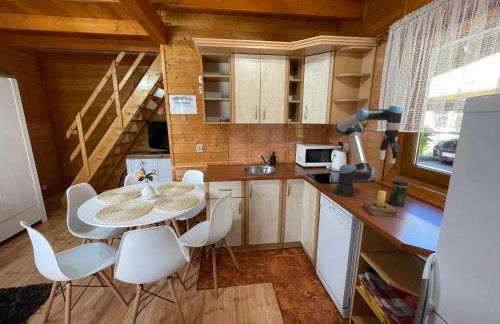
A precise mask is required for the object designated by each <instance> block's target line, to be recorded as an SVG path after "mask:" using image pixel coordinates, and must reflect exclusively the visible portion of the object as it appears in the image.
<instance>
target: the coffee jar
mask: <svg viewBox="0 0 500 324" xmlns="http://www.w3.org/2000/svg"><path fill="white" fill-rule="evenodd" d="M391 185H392V187H391V193H390V196H389V203H390V204H392V205H393V206H397V207H404V206H405V201H406V196H407V195H406V194H407V189H408V186H409V182H408V181H405V180H404V179H402V178H394V179H393V180H392V183H391Z"/></svg>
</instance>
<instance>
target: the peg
mask: <svg viewBox="0 0 500 324" xmlns="http://www.w3.org/2000/svg"><path fill="white" fill-rule="evenodd" d="M386 197H387V191H385V190H378V191H377V196H376V201H375V202H376V207H377V208H384V203H386V202H385V201H386Z"/></svg>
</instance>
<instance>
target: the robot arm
mask: <svg viewBox="0 0 500 324" xmlns="http://www.w3.org/2000/svg"><path fill="white" fill-rule="evenodd" d="M402 116H403V106H402V105H393V104H392V105H389V107H388V108H387V109H384V108H381V109H380V108H359V109H357V111H356V113H355V114H353V115H351V116H349V117H347V118H345V119H344V120H343V119H341V120H339V121H337V122H335V124H334V132H335V133H336V134H337V135H340V136H346V139H347V140H348V141H349V145H350V149H351V153H352V158H353V162H354V164H348V163H347V164H343V165H341V166H339V170H338V178H337V179H338V180H337V184H336V186H335V188H334V193H335V194H337V195H338V196H341V197H342V196H343V197H347V198H348V197H349V198H350V197H355V196H356V190H355V186H354V185H355V182H370V181H372V180H374V178H375V174H376V171H375V170H376V169H375V168H374V167H373V166H370V162H367V159H366V158H367V157H366V155H365V151H364V147H363V144H362V140H361V136H362V133H363V130H364V128H363V124H362V123H363V122H364V123H365V121H386V124H385V130H384V136H383V139H382V142H381V144H380V146H379V149H380V156H379V160H385V158H386V152H387V148H388V146H390V148H391V155H390V161H389V164H393V165H394V164H396V161H397V160H396V159H397V154H399V153H400V145H399V137H398V136H399V133H400V127H401V121H402Z"/></svg>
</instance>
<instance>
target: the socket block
mask: <svg viewBox="0 0 500 324" xmlns="http://www.w3.org/2000/svg"><path fill="white" fill-rule="evenodd" d="M376 202H377V201H370V200H364V201H363V208H364V209H365V210H366V211H367V212H368V213H369V215H371V216H372V217H373V216H374V217H387V218H397V216H398V215H397V214H398V211H397V210H396V209H395V208H393V207H392V206H391V205H390V204H388V203H387V202H385V203H384V208H377V207H376Z"/></svg>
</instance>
